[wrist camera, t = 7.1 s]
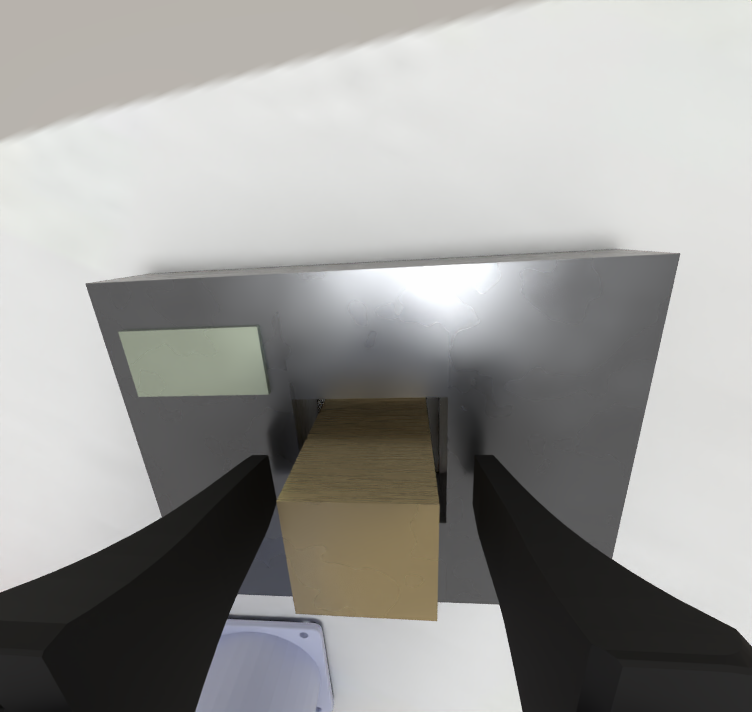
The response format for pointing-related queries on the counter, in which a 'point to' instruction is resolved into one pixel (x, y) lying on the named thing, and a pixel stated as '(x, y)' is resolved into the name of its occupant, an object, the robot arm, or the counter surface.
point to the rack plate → (399, 378)
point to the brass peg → (364, 512)
